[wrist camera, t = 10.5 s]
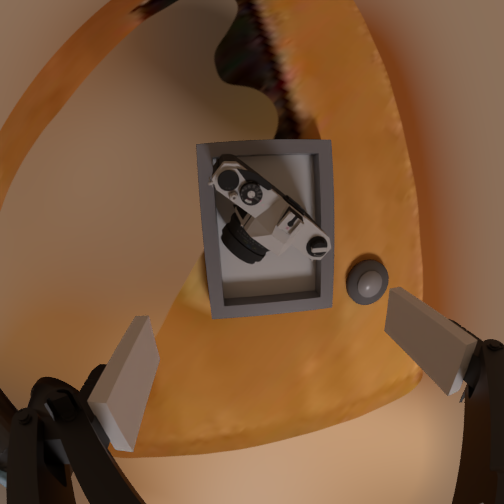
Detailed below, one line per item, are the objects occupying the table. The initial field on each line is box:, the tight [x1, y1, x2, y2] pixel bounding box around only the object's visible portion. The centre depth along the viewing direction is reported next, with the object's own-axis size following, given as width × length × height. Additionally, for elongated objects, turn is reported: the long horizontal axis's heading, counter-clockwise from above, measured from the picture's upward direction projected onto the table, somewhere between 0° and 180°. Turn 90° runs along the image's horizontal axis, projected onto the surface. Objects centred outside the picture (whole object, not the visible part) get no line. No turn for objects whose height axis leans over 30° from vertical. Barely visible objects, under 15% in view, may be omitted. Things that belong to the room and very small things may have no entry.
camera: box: [208, 154, 331, 264], centre depth 26 cm, size 13×8×9 cm, turn 56°
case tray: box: [196, 139, 334, 319], centre depth 31 cm, size 14×19×3 cm
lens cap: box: [346, 260, 388, 305], centre depth 34 cm, size 6×6×2 cm
